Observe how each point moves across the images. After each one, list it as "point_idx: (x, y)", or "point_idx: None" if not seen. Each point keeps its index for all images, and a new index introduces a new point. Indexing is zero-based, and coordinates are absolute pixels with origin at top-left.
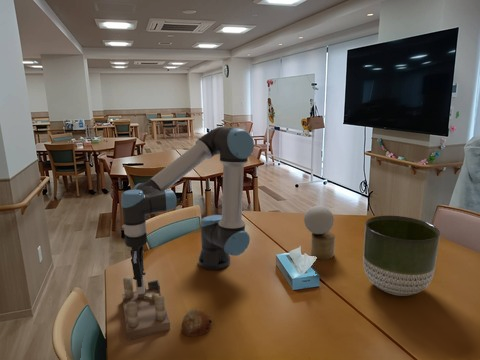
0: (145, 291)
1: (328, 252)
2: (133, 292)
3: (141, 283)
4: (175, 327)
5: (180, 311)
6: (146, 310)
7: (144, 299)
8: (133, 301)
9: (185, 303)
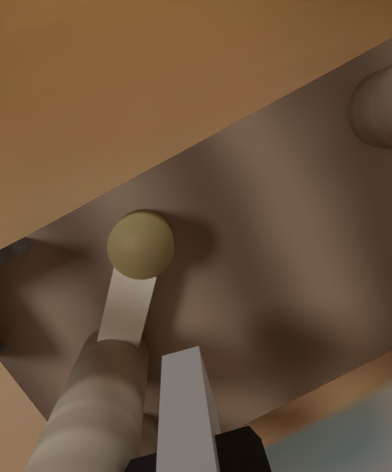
0: (111, 354)
1: None
2: None
3: (238, 467)
4: (361, 10)
5: (180, 20)
6: (285, 255)
7: (148, 324)
8: None
9: (70, 3)
